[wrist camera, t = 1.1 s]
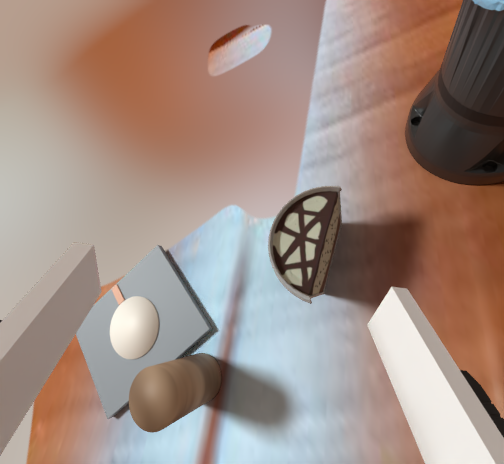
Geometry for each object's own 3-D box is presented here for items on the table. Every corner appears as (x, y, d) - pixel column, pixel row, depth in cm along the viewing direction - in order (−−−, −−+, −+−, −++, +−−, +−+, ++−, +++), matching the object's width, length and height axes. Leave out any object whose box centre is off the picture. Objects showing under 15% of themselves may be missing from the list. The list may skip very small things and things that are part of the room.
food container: (299, 205, 39) (282, 173, 30) (344, 213, 37) (340, 181, 28) (275, 291, 37) (248, 284, 28) (320, 305, 35) (307, 303, 26)
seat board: (161, 246, 45) (156, 244, 44) (212, 328, 39) (208, 328, 38) (78, 324, 47) (71, 325, 46) (113, 416, 40) (106, 419, 39)
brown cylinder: (206, 343, 38) (159, 353, 29) (230, 383, 36) (187, 408, 27) (175, 371, 39) (120, 389, 30) (196, 412, 36) (144, 445, 27)
